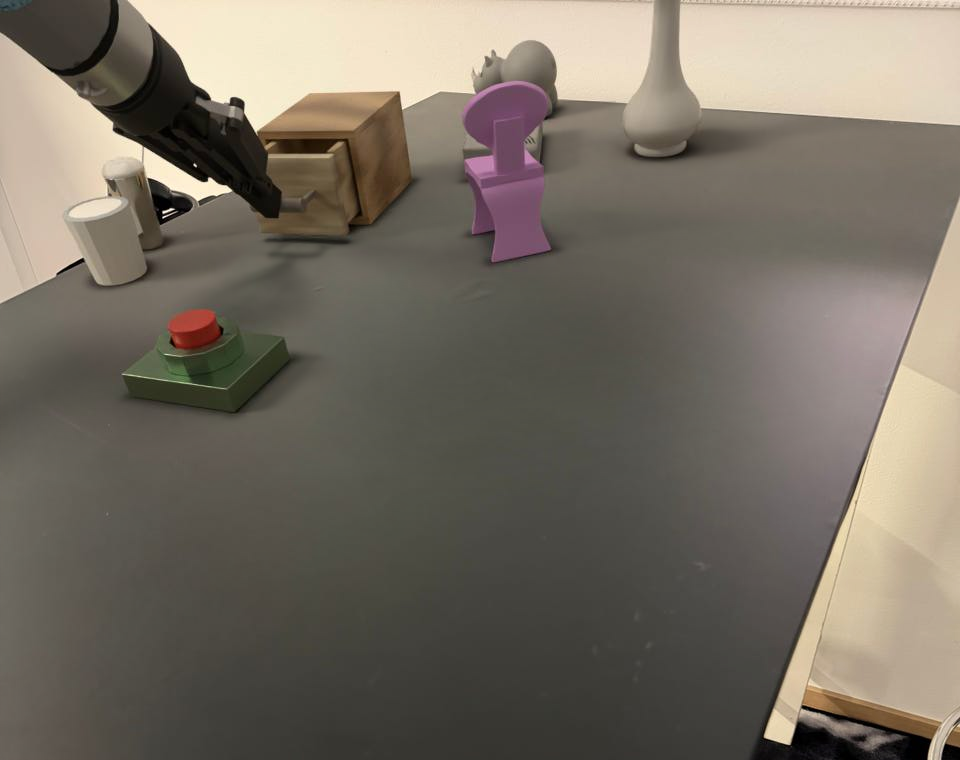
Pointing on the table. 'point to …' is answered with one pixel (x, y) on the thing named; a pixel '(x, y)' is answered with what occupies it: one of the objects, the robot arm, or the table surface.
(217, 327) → the button
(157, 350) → the button block
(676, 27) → the flower vase
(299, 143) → the drawer
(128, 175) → the milkshake
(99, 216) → the white cup
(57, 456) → the table surface
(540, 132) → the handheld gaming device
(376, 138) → the cabinet
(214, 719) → the table surface
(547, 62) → the toy rhinoceros
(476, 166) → the toy chair
